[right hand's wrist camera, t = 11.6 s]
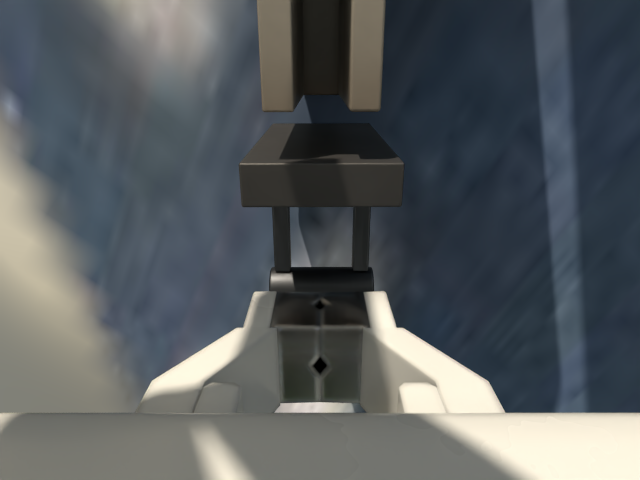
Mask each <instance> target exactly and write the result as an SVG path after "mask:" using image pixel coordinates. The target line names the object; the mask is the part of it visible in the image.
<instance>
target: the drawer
mask: <svg viewBox="0 0 640 480" xmlns="http://www.w3.org/2000/svg"><path fill="white" fill-rule="evenodd" d="M385 4H386V0H257V11H258V32H259V52H260V73H261V93H262V110H263V112H293V111H294V109H295V108H296V106H297V105H298V103H299V101H300V100H301V98H302V97H303V95H340V97H341V98H342V100H343V101H344V103H345V104H346V106H347V107H348V108H349V110H350V111H352V112H378V111H380V109H381V91H382V70H383V48H384V26H385ZM239 174H240V188H241V203H242V207H272V216H273V238H274V261H275V267H272V268H271V271H270V279H269V291H276V292H360V291H363V292H374V277H373V270H372V268H371V267H368V261H369V237H370V213H371V207H400V206H401V205H402V194H403V179H404V163H403V161H402V160H401V159H400V158H399V157H398V156H397V155H396V153H395V152H394V151H393V150H392V149H391V148H390V147H389V146H388V144H387V143H386V142H385V141H384V140H383V139H382V138H381V136H380V135H379V134H378V133H377V132H376V131H375V130H374V128H373V127H372V126H371V125H370V124H369V123H332V124H272V126H271V127H270V128H269V129H268V130H267V132H266V133H265V134H264V135H263V136H262V137H261V139H260V140H259V141H258V142H257V143H256V145H255V146H254V147H253V148H252V149H251V150H250V152H249V153H248V154H247V155H246V156H245V158H244V159H243V160H242V161H241V162H240V163H239ZM290 207H353V239H352V267H291V241H290Z"/></svg>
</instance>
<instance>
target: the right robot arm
mask: <svg viewBox="0 0 640 480" xmlns="http://www.w3.org/2000/svg"><path fill="white" fill-rule="evenodd" d="M301 402H338V403H360V405H361V407H362V408H363V409H364V410H365V411H366V413H274V412H275V411H276V409H277V408H278V407H279V406H280V403H301ZM0 480H640V413H505V411H504V409H503V407H502V406H501V404H500V402H499V400H498V398H497V396H496V394H495V393H494V391H493V389H492V387H491V385H490V383H489V381H487V380H486V379H484V378H482V377H481V376H479V375H478V374H476V373H474V372H473V371H471V370H470V369H468V368H466V367H465V366H463V365H462V364H460V363H458V362H457V361H455V360H454V359H452V358H450V357H449V356H447V355H446V354H444V353H442V352H441V351H439V350H438V349H436V348H434V347H433V346H431V345H430V344H428V343H426V342H425V341H423V340H422V339H420V338H418V337H417V336H415V335H414V334H412V333H410V332H409V331H407V330H406V329H404V328H397V327H396V324H395V320H394V317H393V314H392V310H391V307H390V304H389V301H388V297H387V294H386V292H384V291H375V292H363V291H360V292H276V291H263V292H255V293H254V294H253V297H252V300H251V304H250V307H249V310H248V314H247V317H246V320H245V324H244V327H243V328H236V329H234V330H233V331H231V332H230V333H228V334H226V335H225V336H223V337H222V338H220V339H218V340H217V341H215V342H214V343H212V344H210V345H209V346H207V347H205V348H204V349H202V350H201V351H199V352H197V353H196V354H194V355H193V356H191V357H189V358H188V359H186V360H185V361H183V362H181V363H180V364H178V365H177V366H175V367H173V368H172V369H170V370H169V371H167V372H165V373H164V374H162V375H161V376H159V377H157V378H156V379H154V380H153V381H152V382H151V384H150V386H149V387H148V389H147V391H146V393H145V395H144V397H143V398H142V400H141V402H140V404H139V406H138V408H137V409H136V411H135V413H0Z"/></svg>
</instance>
